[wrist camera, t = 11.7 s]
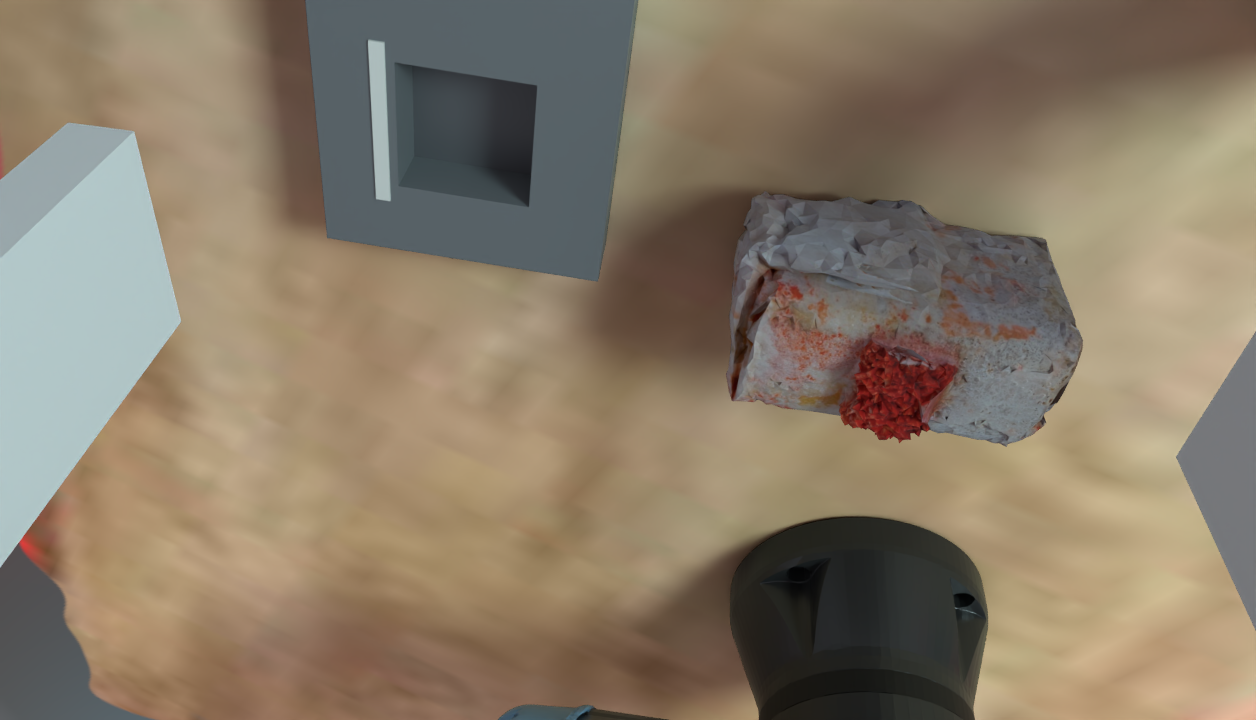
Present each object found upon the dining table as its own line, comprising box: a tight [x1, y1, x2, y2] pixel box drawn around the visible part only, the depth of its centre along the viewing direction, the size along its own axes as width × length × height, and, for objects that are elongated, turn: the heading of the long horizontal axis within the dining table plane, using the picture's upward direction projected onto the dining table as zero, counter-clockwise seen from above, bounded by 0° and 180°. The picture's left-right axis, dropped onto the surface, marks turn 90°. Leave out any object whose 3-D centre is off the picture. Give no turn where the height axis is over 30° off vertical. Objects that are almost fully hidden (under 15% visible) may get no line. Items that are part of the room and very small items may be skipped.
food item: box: [726, 191, 1083, 447], centre depth 41 cm, size 14×8×10 cm, turn 84°
